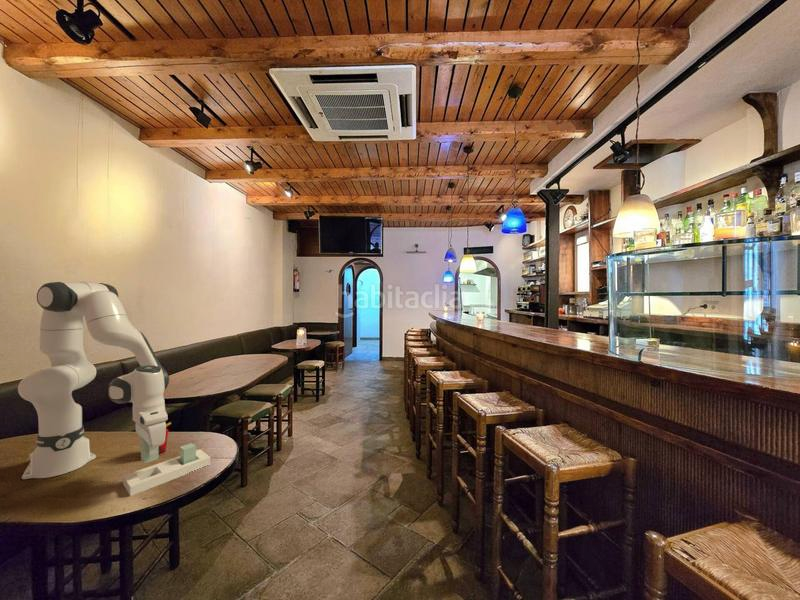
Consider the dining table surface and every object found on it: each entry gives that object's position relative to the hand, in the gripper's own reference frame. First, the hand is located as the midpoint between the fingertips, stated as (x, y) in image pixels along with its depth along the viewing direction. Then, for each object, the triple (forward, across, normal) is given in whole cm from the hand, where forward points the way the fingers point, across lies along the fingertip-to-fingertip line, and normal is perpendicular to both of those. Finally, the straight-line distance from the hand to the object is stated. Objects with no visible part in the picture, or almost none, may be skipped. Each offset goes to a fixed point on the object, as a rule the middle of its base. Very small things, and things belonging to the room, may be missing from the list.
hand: (149, 451), depth 109 cm
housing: (+11, 0, +6) cm, 12 cm away
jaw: (+3, 0, 0) cm, 3 cm away
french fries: (+11, -20, +8) cm, 24 cm away
